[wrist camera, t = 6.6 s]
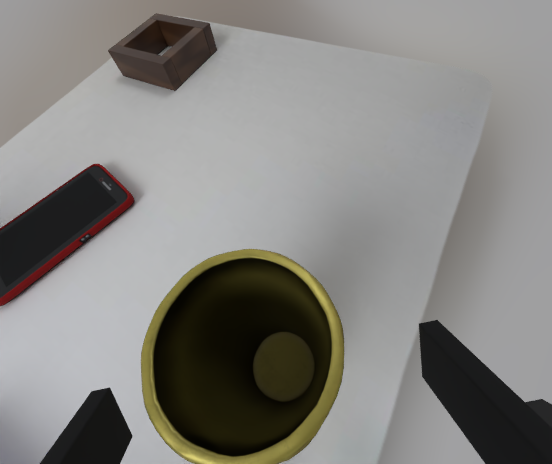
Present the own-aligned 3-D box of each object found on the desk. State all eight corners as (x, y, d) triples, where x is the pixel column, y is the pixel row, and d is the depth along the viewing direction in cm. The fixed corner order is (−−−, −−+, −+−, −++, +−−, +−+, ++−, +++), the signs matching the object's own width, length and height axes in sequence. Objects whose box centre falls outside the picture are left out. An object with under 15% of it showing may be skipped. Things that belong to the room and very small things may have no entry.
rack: (166, 39, 43) (155, 13, 40) (217, 50, 40) (209, 22, 37) (123, 75, 39) (107, 50, 36) (175, 91, 36) (162, 64, 33)
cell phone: (-27, 257, 27) (-38, 253, 26) (103, 166, 31) (97, 160, 30) (-1, 311, 24) (-12, 309, 23) (139, 201, 28) (133, 196, 27)
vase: (230, 400, 19) (71, 442, 6) (257, 312, 21) (183, 217, 9) (318, 431, 17) (342, 566, 5) (335, 333, 20) (379, 257, 7)
